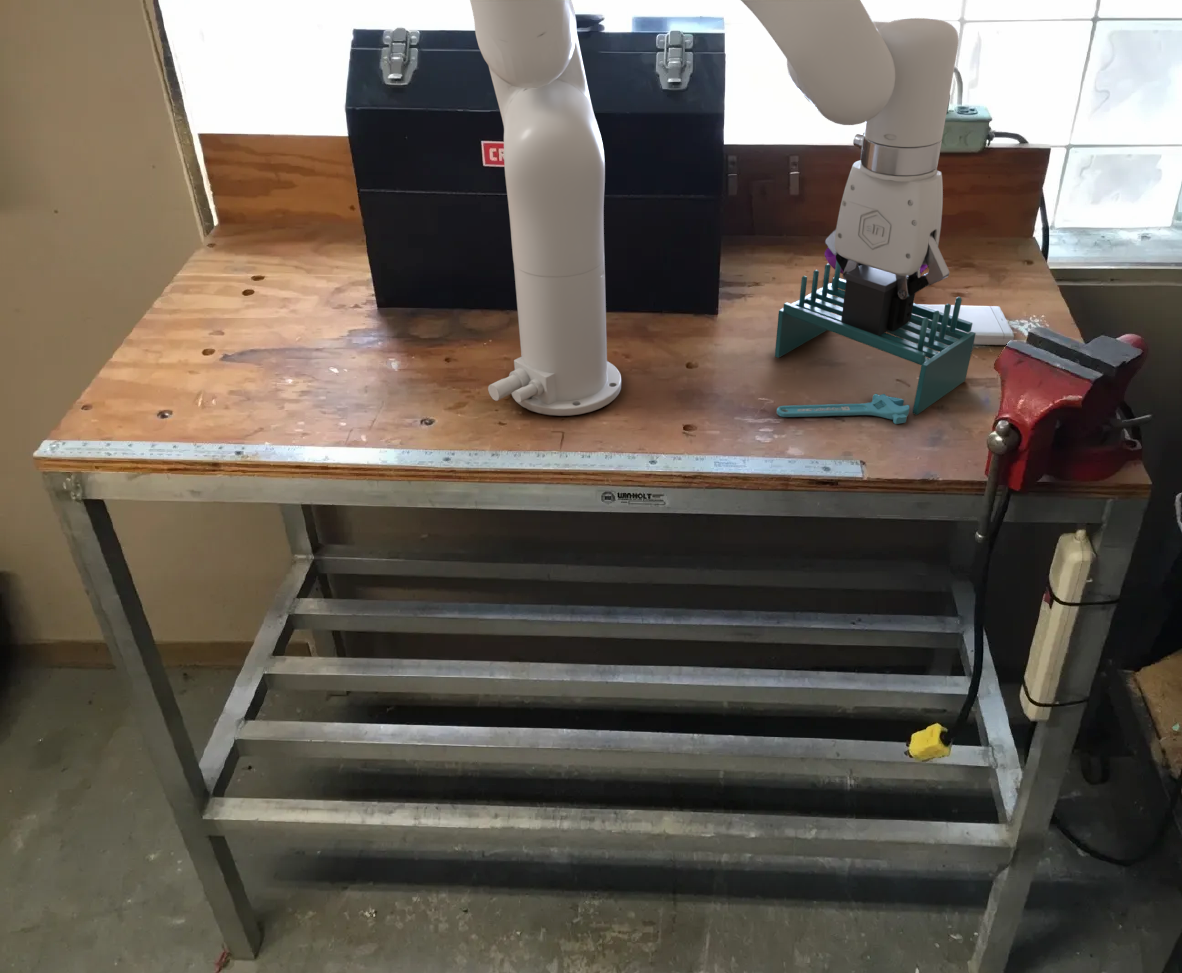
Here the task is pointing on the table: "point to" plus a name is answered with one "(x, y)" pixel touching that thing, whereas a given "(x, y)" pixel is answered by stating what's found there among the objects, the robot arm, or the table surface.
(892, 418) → the adjustable wrench
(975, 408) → the table surface
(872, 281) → the black box
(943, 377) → the rack
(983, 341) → the hard drive
